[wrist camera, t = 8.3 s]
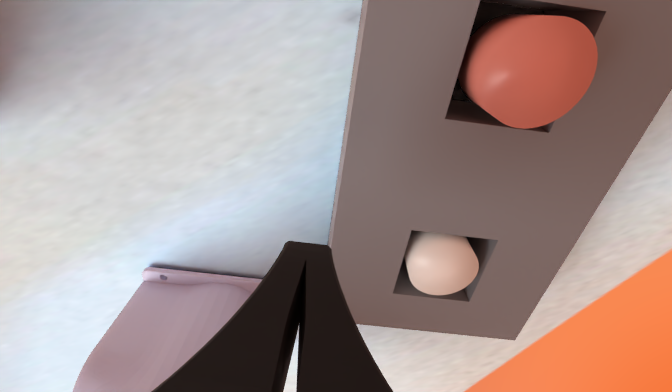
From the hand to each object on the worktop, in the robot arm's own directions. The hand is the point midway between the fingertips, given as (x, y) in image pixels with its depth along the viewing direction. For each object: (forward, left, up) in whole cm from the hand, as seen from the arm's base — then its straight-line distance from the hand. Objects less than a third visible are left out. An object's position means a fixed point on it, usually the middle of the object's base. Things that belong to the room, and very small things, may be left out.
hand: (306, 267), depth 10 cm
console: (+7, +1, -9) cm, 12 cm away
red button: (+7, +6, -7) cm, 12 cm away
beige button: (+7, -4, -8) cm, 12 cm away
